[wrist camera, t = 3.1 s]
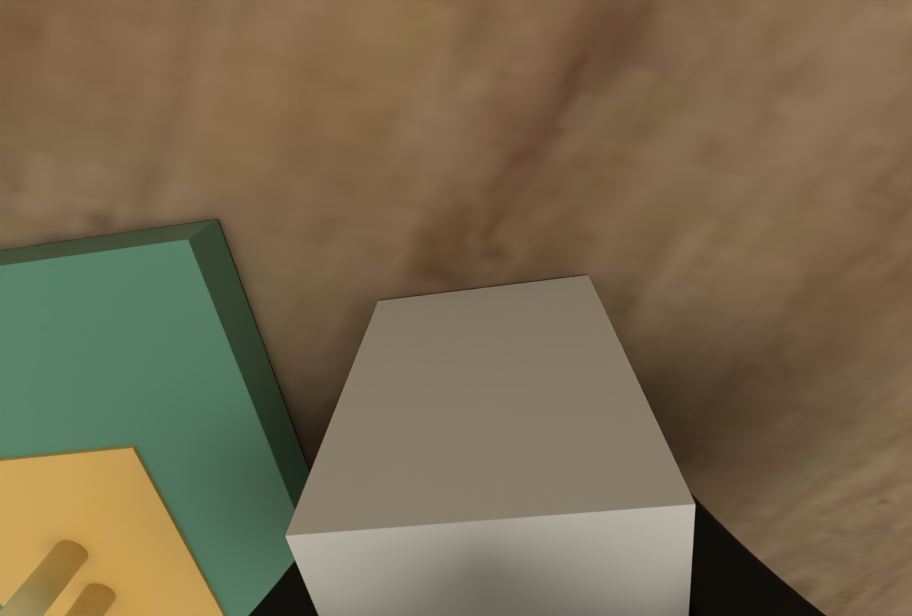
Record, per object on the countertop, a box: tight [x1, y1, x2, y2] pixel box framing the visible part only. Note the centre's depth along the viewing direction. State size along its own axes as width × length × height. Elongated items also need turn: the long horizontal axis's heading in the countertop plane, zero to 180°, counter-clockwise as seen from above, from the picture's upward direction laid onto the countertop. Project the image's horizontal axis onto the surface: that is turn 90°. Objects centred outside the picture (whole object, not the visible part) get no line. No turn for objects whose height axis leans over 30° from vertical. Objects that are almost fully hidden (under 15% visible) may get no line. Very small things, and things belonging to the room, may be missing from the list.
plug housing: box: [285, 275, 695, 616], centre depth 10 cm, size 4×8×6 cm, turn 9°
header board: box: [0, 219, 310, 616], centre depth 13 cm, size 12×18×4 cm, turn 9°
